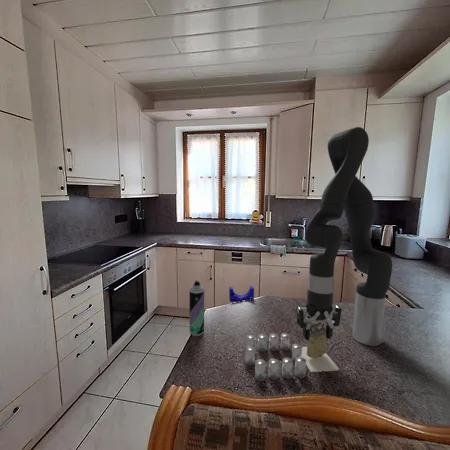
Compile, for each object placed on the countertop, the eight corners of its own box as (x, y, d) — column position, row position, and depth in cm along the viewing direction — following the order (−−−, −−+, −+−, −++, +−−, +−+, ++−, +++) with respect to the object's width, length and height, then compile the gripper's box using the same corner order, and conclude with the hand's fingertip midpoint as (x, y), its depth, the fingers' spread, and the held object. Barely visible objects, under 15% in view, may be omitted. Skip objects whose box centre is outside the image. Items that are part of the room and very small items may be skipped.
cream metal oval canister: (318, 347, 85) (320, 318, 83) (328, 353, 81) (330, 324, 80) (304, 353, 81) (305, 324, 80) (313, 360, 78) (315, 330, 76)
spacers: (291, 344, 89) (292, 332, 88) (312, 377, 73) (313, 363, 72) (240, 347, 87) (241, 335, 86) (250, 381, 71) (251, 366, 70)
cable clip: (230, 301, 123) (230, 290, 123) (229, 298, 128) (229, 286, 127) (254, 301, 124) (254, 289, 124) (252, 297, 129) (252, 286, 128)
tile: (320, 346, 88) (320, 345, 88) (339, 370, 76) (339, 369, 76) (295, 348, 87) (295, 347, 87) (310, 372, 75) (310, 371, 75)
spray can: (186, 331, 96) (186, 281, 93) (198, 326, 100) (198, 277, 97) (195, 337, 92) (195, 284, 89) (207, 332, 96) (207, 281, 93)
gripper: (335, 283, 83) (332, 331, 85) (293, 284, 81) (291, 333, 83) (349, 292, 76) (345, 344, 78) (303, 293, 74) (300, 346, 76)
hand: (317, 338), depth 80 cm, fingers closed on cream metal oval canister, 6 cm apart
